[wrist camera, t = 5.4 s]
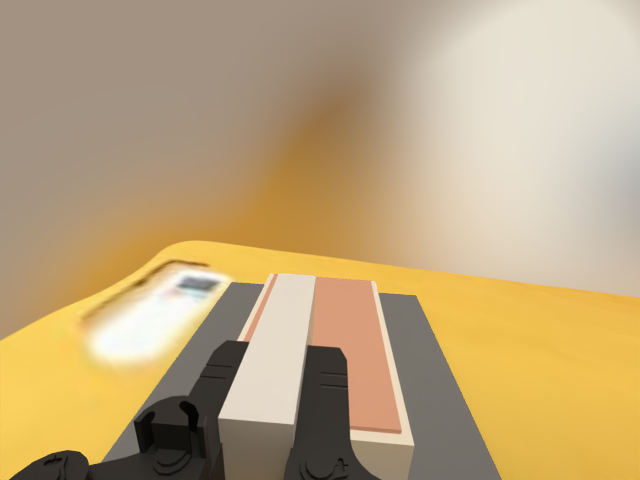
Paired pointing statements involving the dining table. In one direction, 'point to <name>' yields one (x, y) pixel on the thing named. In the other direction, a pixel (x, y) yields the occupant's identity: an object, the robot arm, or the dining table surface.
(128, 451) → the mat
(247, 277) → the dining table surface
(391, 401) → the tile
